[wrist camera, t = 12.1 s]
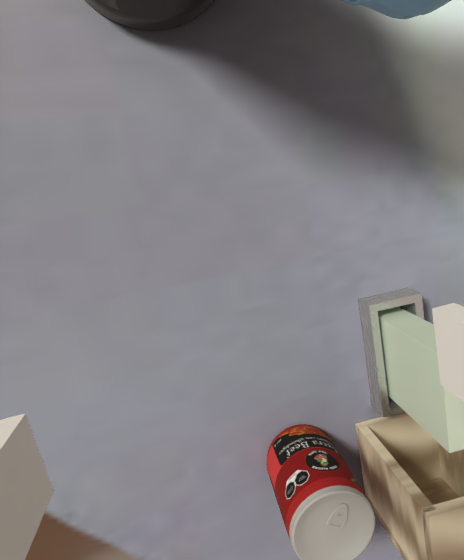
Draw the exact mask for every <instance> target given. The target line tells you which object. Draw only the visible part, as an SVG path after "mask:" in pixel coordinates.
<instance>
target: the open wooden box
mask: <svg viewBox="0 0 464 560" xmlns="http://www.w3.org/2000/svg"><path fill="white" fill-rule="evenodd" d="M355 425H356V432H357V440H358V447H359V454H360V461H361V468H362V475H363V482H364V489H365V496H366V497H367V499H368V501H369V502H370V504H371V507H372V509H373V511H374V512H375V514H376V515H377V517H378V519H379V520H380V522H381V523H382V525H383V527H384V528H385V530H386V531H387V533H388V535H389V536H390V538H391V539H392V541H393V543H394V544H395V546H396V547H397V549H398V551H399V552H400V554H401V555H402V557H403V559H404V560H464V449H463V450H459V451H455V452H452V453H449V452H448V451H447V450H446V449H444V448H443V447H442V446H441V445H440V444H439V443H438V442H437V441H436V440H435V439H434V438H433V437H432V436H431V435H430V434H429V433H427V432H426V431H425V430H424V429H423V428H422V427H421V426H420V425H419V424H418V423H417V422H416V421H415V420H414V419H413V418H412V417H410V416H409V415H408V414H407V413H406V412H403V413H399V414H395V415H391V416H387V417H379V418H375V419H371V420H368V421H364V422H360V423H356V424H355Z"/></svg>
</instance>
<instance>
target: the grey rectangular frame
mask: <svg viewBox="0 0 464 560" xmlns="http://www.w3.org/2000/svg"><path fill="white" fill-rule="evenodd" d="M358 302H359V310H360V318H361V325H362V333H363V341H364V348H365V356H366V364H367V371H368V379H369V387H370V394H371V402H372V406H373V407H374V408H375V409H376V410H377V411H378V413H379V414H380V415H381V416H382V417H387V416H391V415H395V414H399V413H403V412H405V411H404V410H403V409H402V408H401V407H400V406H399V405H398V404H397V403H396V402H394V401H393V400H392V399H391V398H390V397H389V396H388V393H387V385H386V376H385V368H384V360H383V351H382V343H381V335H380V326H379V318H378V311H381V310H385V309H390V308H394V307H398V306H403V309H404V310H406V311H408V312H410V313H412V314H414V315H416V316H418V317H420V318H422V319H424V312H423V301H422V293H420V292H417V291H415V290H412V289H410V288H405V289H400V290H396V291H392V292H387V293H383V294H379V295H374V296H370V297H365V298H361V299H358Z"/></svg>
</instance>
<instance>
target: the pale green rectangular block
mask: <svg viewBox="0 0 464 560" xmlns="http://www.w3.org/2000/svg"><path fill="white" fill-rule="evenodd" d="M378 318H379V326H380V335H381V343H382V351H383V360H384V368H385V376H386V385H387V393H388V396H389V397H390V398H391V399H392V400H393V401H394V402H396V403H397V404H398V405H399V406H400V407H401V408H402V409H403V410H404V411H405V412H406V413H407V414H408V415H409V416H410V417H412V418H413V419H414V420H415V421H416V422H417V423H418V424H419V425H420V426H421V427H422V428H423V429H424V430H425V431H426V432H427V433H429V434H430V435H431V436H432V437H433V438H434V439H435V440H436V441H437V442H438V443H439V444H440V445H441V446H442V447H443V448H444V449H446V450H447V451H448V452H449V453H452V452H455V451H459V450H463V449H464V401H463V400H461V399H460V398H459V397H457V396H456V395H454V394H453V393H452V392H450V391H449V390H448V389H446V388H445V387H443V386H442V385H441V384H440V375H439V366H438V357H437V348H436V339H435V330H434V324H432V323H430V322H428V321H426V320H424V319H422V318H420V317H418V316H416V315H414V314H412V313H410V312H408V311H406V310H404V309H402V308H400V307H394V308H390V309H385V310H381V311H378Z"/></svg>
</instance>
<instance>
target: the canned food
mask: <svg viewBox="0 0 464 560" xmlns="http://www.w3.org/2000/svg"><path fill="white" fill-rule="evenodd" d="M267 471H268V474H269V477H270V480H271V483H272V486H273V489H274V492H275V496H276V499H277V502H278V505H279V508H280V511H281V514H282V517H283V520H284V524H285V527H286V530H287V533H288V535H289V538H290V541H291V544H292V547H293V548H294V550H295V553H296V554H297V556H298V557H299V558H300V559H301V560H354V559H355V558H357V557H358V556H359V555H360V554H361V553H362V552H363V551H364V550H365V549H366V547H367V546H368V544H369V543H370V541H371V539H372V536H373V534H374V530H375V515H374V511H373V509H372V507H371V504H370V502H369V501H368V499H367V497H366V496H365V494H364V492H363V491H362V489H361V487H360V486H359V484H358V483H357V481H356V480H355V478H354V476H353V475H352V473H351V472H350V470H349V469H348V467H347V465H346V464H345V462H344V461H343V459H342V458H341V456H340V454H339V453H338V451H337V450H336V448H335V447H334V445H333V443H332V442H331V440H330V439H329V437H328V436H327V435H326V434H325V433H324V432H322V431H321V430H319V429H318V428H316V427H313V426H311V425H295V426H292V427H289V428H287V429H285V430H284V431H282V432H281V433H280V434H279V435H277V436H276V438H275V439H274V440H273V442H272V443H271V445H270V447H269V450H268V455H267Z"/></svg>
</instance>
